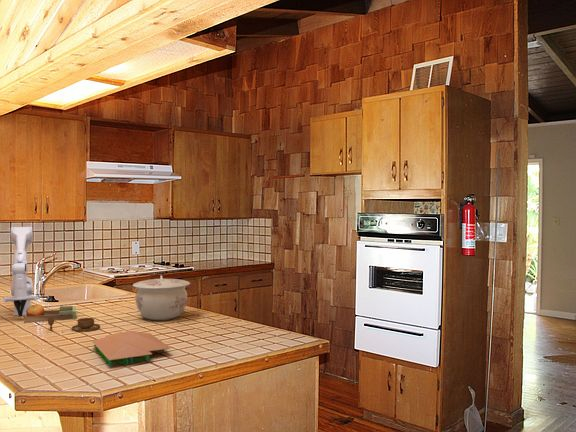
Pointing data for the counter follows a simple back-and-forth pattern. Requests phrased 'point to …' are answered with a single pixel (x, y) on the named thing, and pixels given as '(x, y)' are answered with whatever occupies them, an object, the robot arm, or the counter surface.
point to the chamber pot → (161, 298)
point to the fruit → (35, 310)
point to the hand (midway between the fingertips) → (20, 316)
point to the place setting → (80, 325)
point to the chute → (54, 315)
